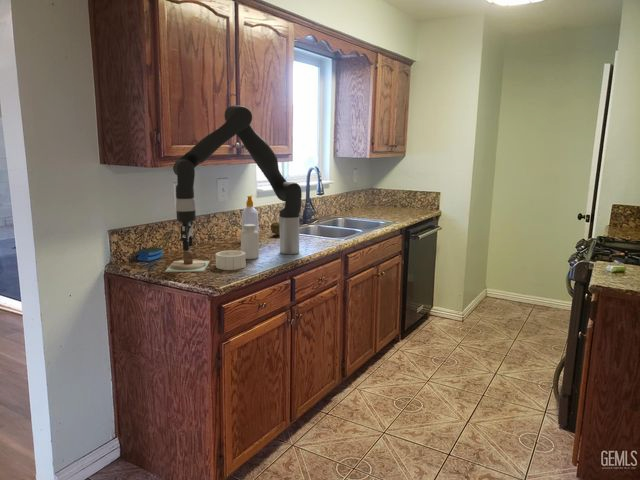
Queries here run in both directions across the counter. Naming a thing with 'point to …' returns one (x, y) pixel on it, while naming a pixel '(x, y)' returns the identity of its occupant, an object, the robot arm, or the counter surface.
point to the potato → (275, 228)
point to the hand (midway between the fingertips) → (187, 248)
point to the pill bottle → (250, 241)
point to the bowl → (230, 260)
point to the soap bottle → (249, 214)
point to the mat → (187, 270)
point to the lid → (188, 262)
